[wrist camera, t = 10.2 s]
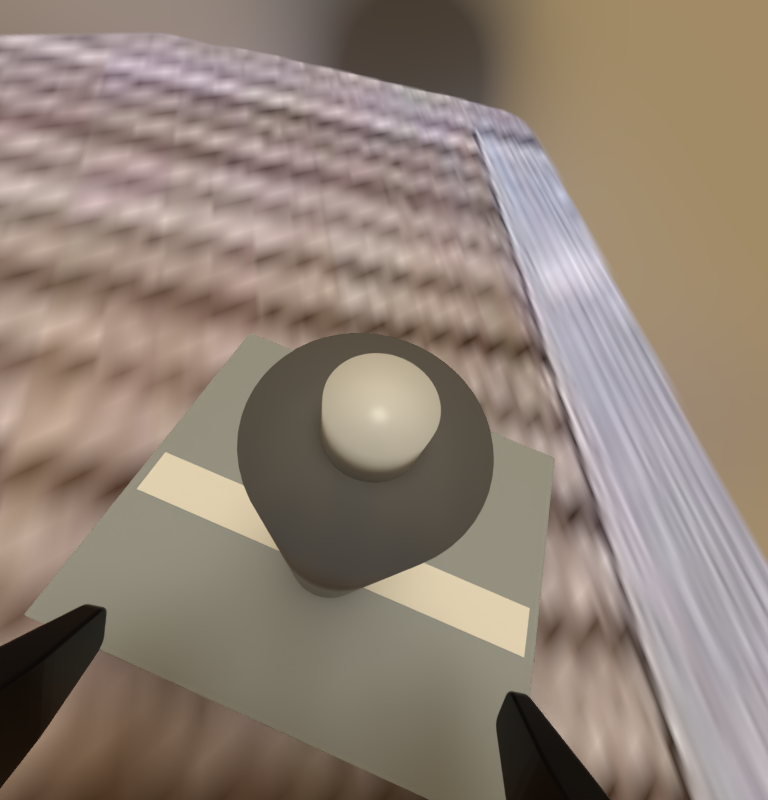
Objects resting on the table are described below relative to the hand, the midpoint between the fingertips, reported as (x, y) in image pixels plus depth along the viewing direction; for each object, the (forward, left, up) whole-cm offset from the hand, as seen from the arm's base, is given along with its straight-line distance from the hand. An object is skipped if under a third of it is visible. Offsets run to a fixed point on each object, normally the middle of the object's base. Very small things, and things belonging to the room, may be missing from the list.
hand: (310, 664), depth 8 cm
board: (+5, +1, -10) cm, 11 cm away
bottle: (+4, +1, -8) cm, 9 cm away
